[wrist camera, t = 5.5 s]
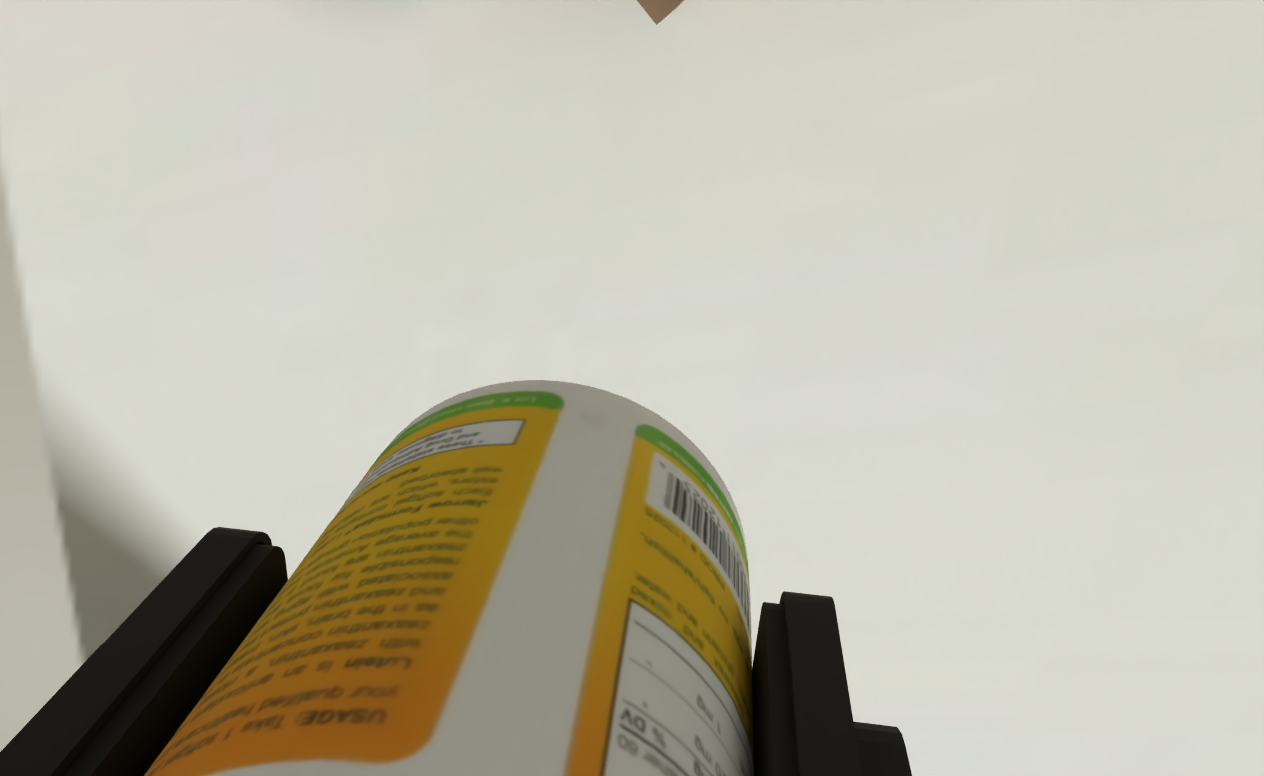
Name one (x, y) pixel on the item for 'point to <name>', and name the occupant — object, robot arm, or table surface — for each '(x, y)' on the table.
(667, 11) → the walnut riser
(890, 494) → the table surface
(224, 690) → the supplement bottle
